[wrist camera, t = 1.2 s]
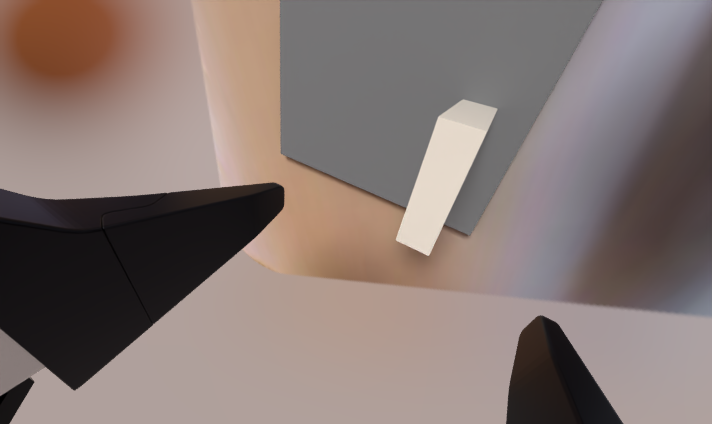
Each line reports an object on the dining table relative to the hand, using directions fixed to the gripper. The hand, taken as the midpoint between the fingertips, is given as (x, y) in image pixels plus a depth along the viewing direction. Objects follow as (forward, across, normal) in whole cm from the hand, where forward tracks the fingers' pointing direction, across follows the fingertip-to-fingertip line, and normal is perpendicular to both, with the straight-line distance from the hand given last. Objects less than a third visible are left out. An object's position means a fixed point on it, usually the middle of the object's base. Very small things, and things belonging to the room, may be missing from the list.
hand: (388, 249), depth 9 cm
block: (+11, 0, 0) cm, 11 cm away
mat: (+12, +6, -2) cm, 13 cm away
